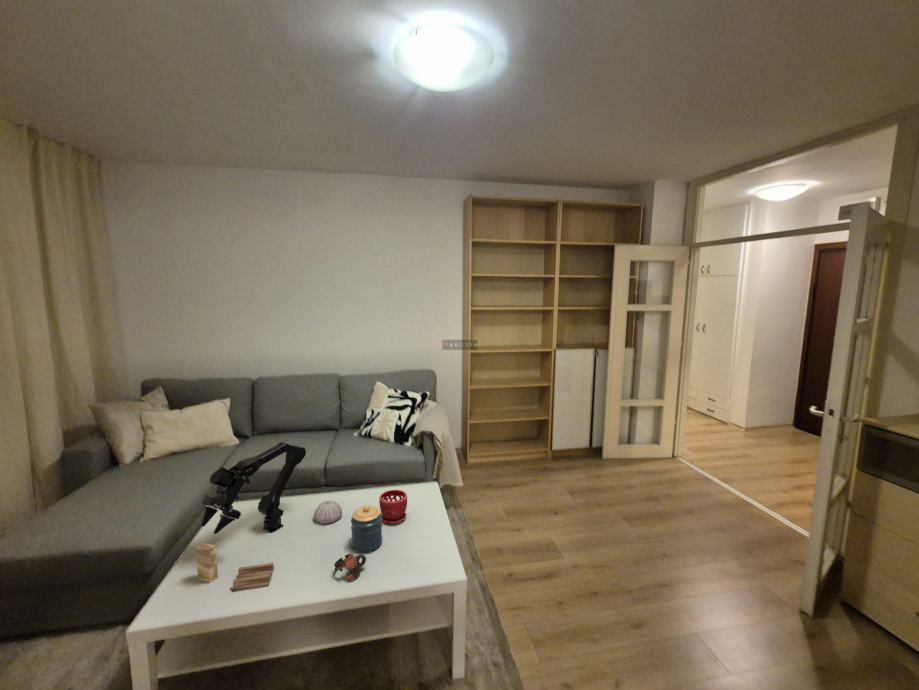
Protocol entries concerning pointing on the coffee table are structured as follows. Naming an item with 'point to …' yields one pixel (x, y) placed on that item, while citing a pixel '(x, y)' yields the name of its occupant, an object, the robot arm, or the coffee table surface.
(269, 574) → the mating board
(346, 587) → the coffee table surface
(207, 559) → the wooden block
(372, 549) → the canister
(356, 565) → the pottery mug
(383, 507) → the plant pot
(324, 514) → the sea urchin shell
